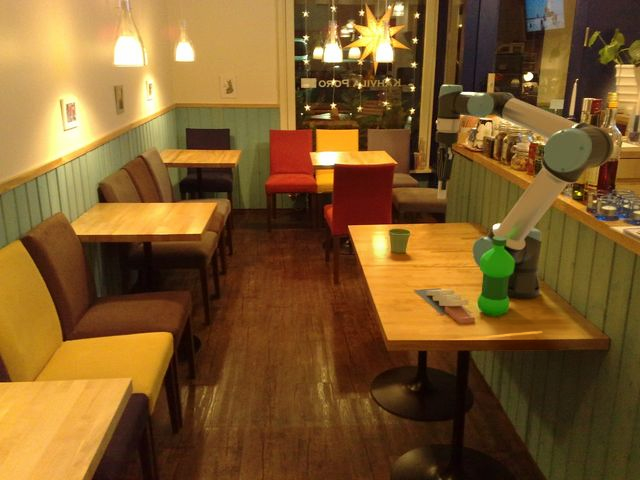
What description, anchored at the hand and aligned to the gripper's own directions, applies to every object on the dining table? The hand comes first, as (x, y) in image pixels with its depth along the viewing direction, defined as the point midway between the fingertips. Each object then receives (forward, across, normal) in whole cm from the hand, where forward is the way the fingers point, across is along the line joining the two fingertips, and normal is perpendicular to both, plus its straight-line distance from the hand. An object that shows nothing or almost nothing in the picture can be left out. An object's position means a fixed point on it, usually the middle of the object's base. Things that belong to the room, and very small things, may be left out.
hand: (441, 198), depth 215 cm
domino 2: (+28, +24, -5) cm, 37 cm away
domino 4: (+28, +33, -4) cm, 43 cm away
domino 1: (+28, +20, -6) cm, 35 cm away
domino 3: (+28, +29, -4) cm, 40 cm away
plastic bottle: (+29, +35, +9) cm, 47 cm away
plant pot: (+30, -31, -7) cm, 43 cm away
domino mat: (+29, +25, -5) cm, 39 cm away
